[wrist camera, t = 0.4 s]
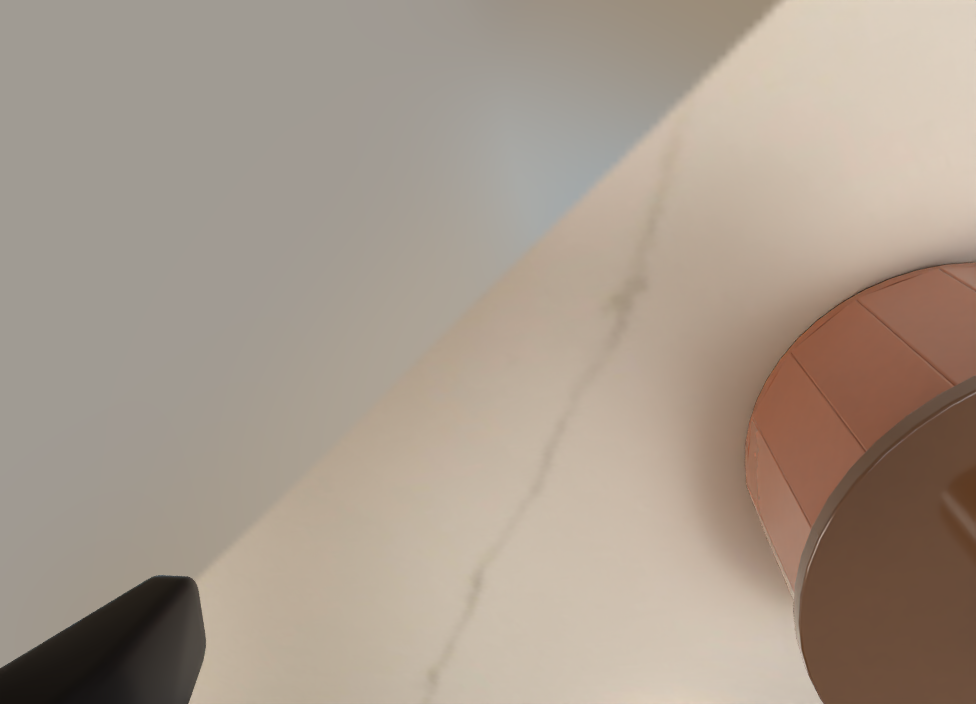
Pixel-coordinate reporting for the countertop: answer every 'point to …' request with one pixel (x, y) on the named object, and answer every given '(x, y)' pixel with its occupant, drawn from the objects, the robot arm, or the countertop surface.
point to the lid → (897, 566)
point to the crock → (853, 393)
